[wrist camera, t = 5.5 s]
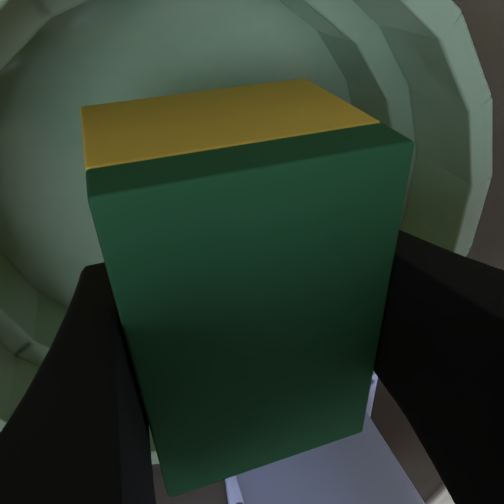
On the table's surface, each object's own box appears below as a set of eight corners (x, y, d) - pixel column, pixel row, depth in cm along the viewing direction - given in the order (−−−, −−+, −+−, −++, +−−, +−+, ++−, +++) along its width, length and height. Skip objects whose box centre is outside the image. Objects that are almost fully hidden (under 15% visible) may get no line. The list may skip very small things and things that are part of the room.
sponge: (297, 323, 13) (362, 432, 10) (144, 364, 12) (168, 499, 9) (306, 77, 9) (416, 140, 6) (79, 105, 8) (87, 198, 5)
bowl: (357, 294, 19) (431, 385, 15) (22, 381, 16) (8, 524, 12) (408, -101, 12) (582, -122, 8) (-209, -86, 8) (-448, -110, 4)
